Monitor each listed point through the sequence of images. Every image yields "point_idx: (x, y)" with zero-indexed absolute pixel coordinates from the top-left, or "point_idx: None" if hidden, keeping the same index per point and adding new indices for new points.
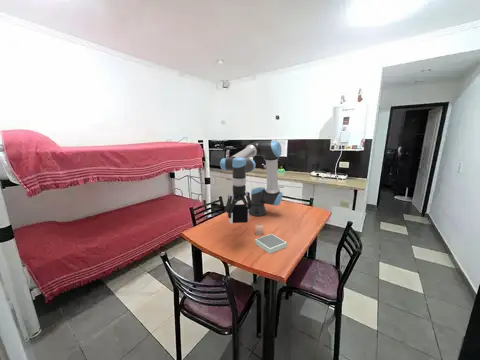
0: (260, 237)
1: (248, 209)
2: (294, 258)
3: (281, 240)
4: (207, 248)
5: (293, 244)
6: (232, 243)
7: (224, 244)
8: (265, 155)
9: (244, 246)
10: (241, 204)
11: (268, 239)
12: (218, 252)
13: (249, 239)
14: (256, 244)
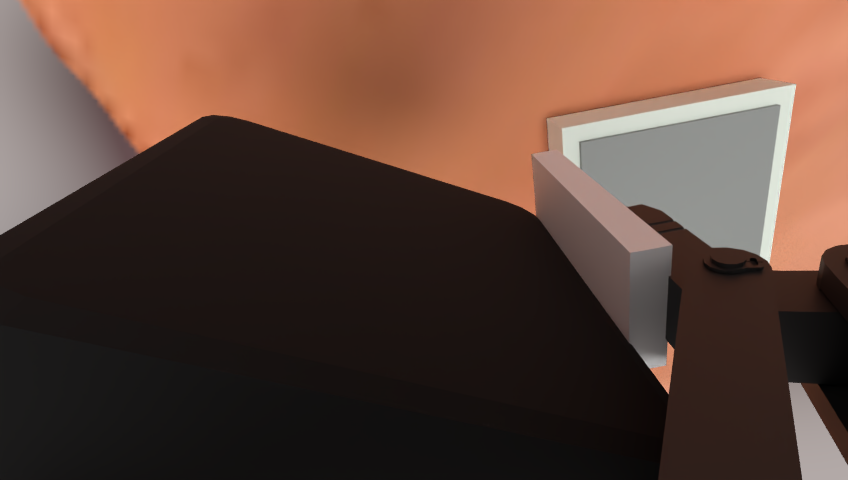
0: (635, 116)
1: (653, 360)
2: (665, 386)
3: (755, 250)
4: (39, 10)
5: (814, 253)
6: (335, 20)
7: (243, 3)
8: None
9: (430, 127)
10: (500, 436)
11: (671, 193)
12: (157, 131)
13: (544, 13)
14: (548, 144)
